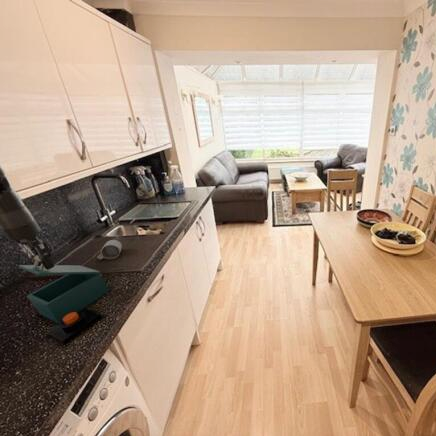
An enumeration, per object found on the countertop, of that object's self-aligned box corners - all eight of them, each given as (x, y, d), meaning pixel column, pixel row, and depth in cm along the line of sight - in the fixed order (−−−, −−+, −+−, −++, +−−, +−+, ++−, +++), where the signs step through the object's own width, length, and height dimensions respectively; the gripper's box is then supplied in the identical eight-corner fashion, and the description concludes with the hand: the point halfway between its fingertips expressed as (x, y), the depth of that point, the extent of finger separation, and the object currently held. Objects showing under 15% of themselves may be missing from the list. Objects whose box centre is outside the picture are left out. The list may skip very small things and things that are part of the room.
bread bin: (59, 324, 82) (46, 304, 78) (40, 314, 86) (26, 295, 83) (109, 291, 96) (100, 273, 92) (89, 284, 100) (80, 267, 96)
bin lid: (38, 275, 75) (43, 258, 76) (18, 267, 80) (23, 252, 81) (99, 273, 91) (103, 260, 92) (79, 267, 96) (83, 254, 97)
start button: (69, 325, 77) (66, 322, 76) (62, 322, 78) (60, 319, 77) (81, 317, 80) (79, 313, 79) (75, 314, 81) (72, 310, 80)
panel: (65, 344, 74) (59, 337, 72) (49, 336, 77) (43, 328, 76) (101, 317, 83) (97, 310, 82) (86, 311, 86) (81, 304, 85)
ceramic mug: (124, 248, 125) (118, 236, 122) (122, 256, 118) (116, 243, 115) (100, 255, 121) (93, 242, 118) (97, 263, 114) (90, 250, 111)
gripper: (-10, 225, 74) (21, 269, 81) (12, 231, 68) (43, 277, 76) (21, 215, 80) (48, 256, 87) (44, 219, 74) (70, 263, 82)
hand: (46, 266), depth 82 cm, fingers closed on bin lid, 5 cm apart
